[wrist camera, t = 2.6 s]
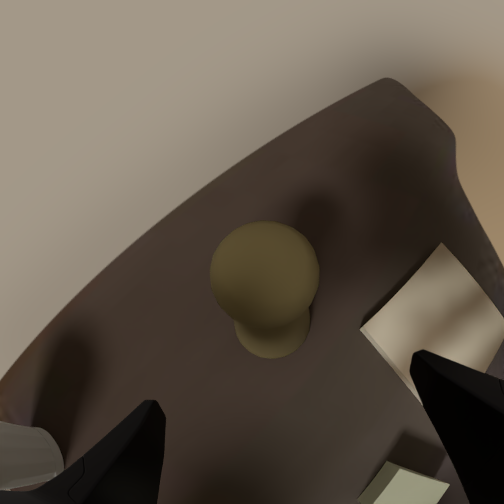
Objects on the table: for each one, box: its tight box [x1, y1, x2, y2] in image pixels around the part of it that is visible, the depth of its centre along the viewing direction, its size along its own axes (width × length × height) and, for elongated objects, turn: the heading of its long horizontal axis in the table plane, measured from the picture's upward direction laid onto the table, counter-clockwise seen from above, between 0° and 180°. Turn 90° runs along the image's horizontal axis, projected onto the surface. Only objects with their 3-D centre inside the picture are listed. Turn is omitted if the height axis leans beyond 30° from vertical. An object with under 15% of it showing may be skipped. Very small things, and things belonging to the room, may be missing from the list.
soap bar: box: [357, 461, 450, 504], centre depth 11 cm, size 6×4×3 cm, turn 55°
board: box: [360, 242, 504, 404], centre depth 18 cm, size 12×12×1 cm
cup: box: [0, 421, 64, 490], centre depth 10 cm, size 8×8×12 cm
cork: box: [210, 220, 320, 359], centre depth 16 cm, size 6×6×11 cm
